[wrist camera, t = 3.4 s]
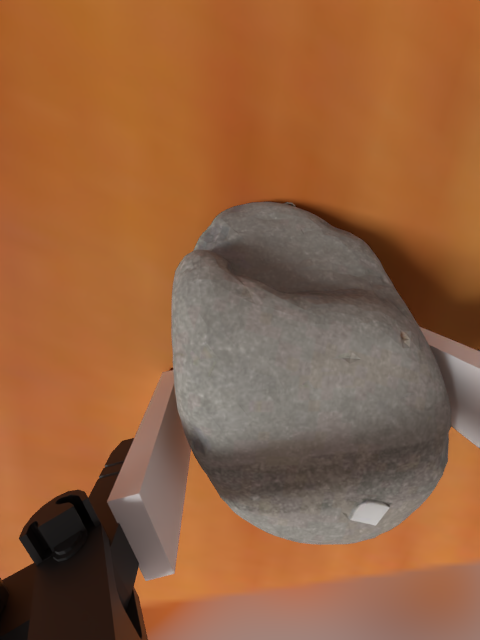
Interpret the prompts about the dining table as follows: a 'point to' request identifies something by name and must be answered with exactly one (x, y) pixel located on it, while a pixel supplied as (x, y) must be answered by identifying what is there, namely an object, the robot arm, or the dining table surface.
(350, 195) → the dining table surface
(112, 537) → the robot arm
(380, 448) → the stone
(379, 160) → the dining table surface
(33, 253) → the dining table surface
